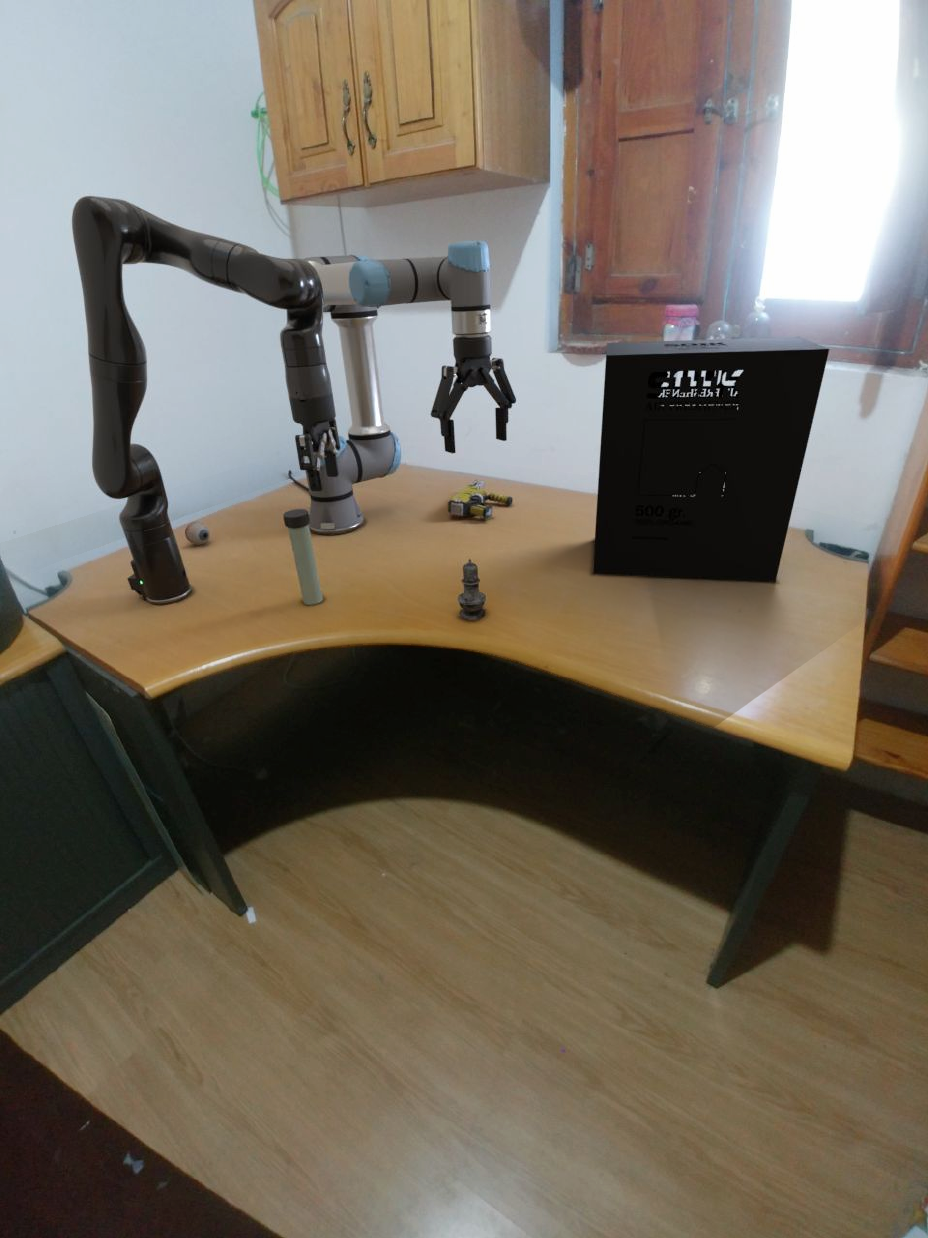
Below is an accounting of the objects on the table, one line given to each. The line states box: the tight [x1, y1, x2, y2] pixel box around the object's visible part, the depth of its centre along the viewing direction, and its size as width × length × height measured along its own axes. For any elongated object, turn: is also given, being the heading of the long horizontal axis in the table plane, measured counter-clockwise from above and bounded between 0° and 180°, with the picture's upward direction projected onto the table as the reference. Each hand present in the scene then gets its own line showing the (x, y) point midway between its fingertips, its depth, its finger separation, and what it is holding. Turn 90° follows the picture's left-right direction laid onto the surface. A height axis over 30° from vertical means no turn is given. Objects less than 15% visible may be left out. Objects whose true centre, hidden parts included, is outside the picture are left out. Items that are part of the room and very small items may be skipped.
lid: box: [282, 508, 310, 529], centre depth 121 cm, size 5×5×2 cm
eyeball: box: [184, 521, 211, 546], centre depth 161 cm, size 6×6×6 cm
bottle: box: [287, 524, 324, 606], centre depth 126 cm, size 4×4×19 cm
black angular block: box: [592, 336, 830, 583], centre depth 128 cm, size 38×20×45 cm, turn 78°
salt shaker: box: [456, 558, 487, 621], centre depth 119 cm, size 6×6×12 cm
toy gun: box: [447, 479, 514, 521], centre depth 175 cm, size 5×24×15 cm
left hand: (325, 483), depth 113 cm, fingers open, 8 cm apart
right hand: (476, 445), depth 127 cm, fingers open, 13 cm apart
